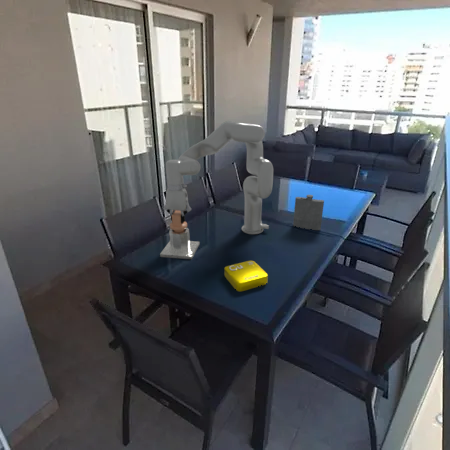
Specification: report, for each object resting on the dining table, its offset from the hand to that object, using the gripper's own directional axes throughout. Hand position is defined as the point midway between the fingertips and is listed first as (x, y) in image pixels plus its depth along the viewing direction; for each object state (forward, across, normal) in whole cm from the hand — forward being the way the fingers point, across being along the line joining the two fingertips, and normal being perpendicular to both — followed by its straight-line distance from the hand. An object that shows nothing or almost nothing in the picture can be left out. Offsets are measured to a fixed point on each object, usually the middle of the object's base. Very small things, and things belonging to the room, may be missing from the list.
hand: (178, 222), depth 157 cm
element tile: (+16, -36, +20) cm, 44 cm away
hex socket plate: (+16, 0, 0) cm, 16 cm away
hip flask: (+16, -65, -38) cm, 77 cm away
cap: (+6, 0, 0) cm, 6 cm away
